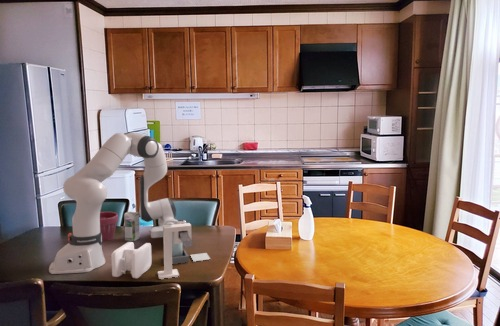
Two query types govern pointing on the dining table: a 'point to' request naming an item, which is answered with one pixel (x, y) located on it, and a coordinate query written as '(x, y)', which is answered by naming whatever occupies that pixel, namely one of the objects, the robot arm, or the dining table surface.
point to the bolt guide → (167, 238)
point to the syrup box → (132, 226)
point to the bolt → (185, 238)
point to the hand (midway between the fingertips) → (173, 235)
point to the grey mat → (200, 257)
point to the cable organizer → (131, 260)
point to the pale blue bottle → (177, 249)
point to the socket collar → (181, 258)
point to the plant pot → (108, 224)
